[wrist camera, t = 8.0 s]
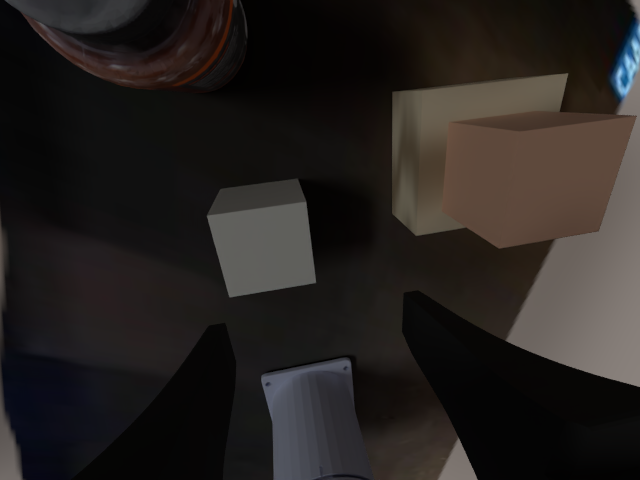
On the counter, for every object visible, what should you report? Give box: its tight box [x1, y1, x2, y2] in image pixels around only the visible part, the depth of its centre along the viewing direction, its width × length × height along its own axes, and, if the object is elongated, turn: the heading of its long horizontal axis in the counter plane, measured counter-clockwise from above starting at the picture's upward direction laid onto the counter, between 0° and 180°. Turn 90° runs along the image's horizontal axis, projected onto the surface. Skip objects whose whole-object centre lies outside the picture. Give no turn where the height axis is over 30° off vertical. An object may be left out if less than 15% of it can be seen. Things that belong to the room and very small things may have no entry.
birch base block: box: [392, 74, 568, 236], centre depth 19 cm, size 8×8×4 cm
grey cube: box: [207, 179, 316, 297], centre depth 19 cm, size 5×5×5 cm
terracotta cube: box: [442, 111, 637, 249], centre depth 15 cm, size 5×5×5 cm
